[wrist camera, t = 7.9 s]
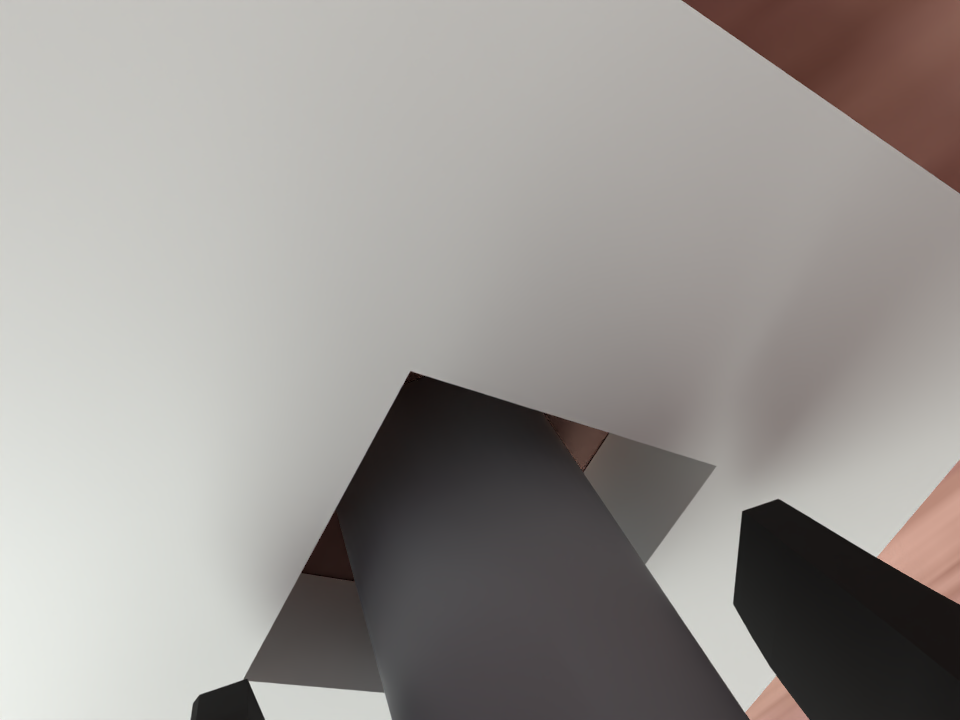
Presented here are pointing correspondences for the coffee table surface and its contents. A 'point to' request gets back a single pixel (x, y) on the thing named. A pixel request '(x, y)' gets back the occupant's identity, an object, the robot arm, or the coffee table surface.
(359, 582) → the peg
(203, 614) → the socket block
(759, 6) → the coffee table surface
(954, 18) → the coffee table surface
